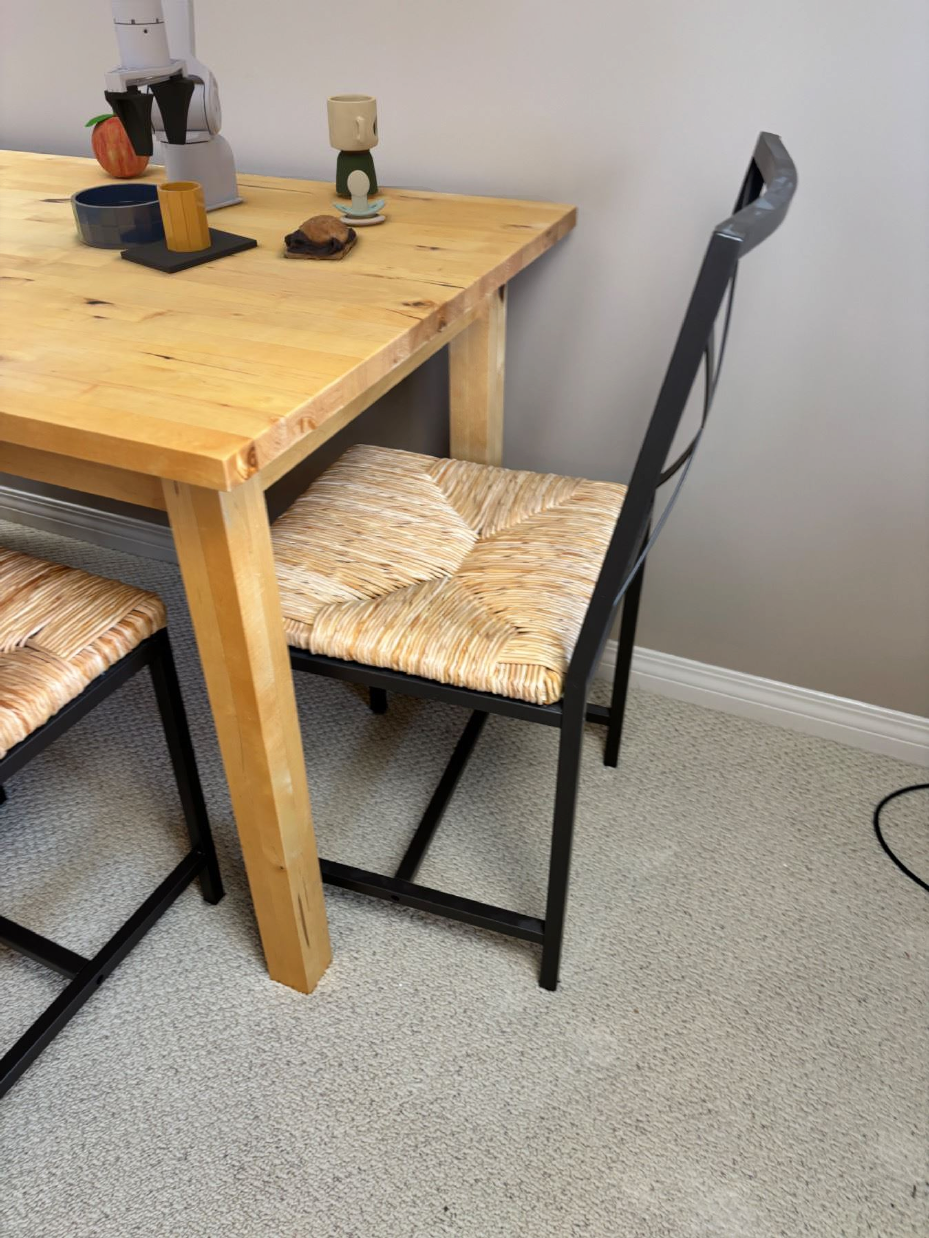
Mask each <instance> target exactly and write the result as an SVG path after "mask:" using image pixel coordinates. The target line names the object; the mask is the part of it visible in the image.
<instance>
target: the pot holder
mask: <svg viewBox="0 0 929 1238" xmlns="http://www.w3.org/2000/svg"><path fill="white" fill-rule="evenodd" d="M208 228H209V235H210V241H211V246H210V247H208V248H206V249H204V250H200V251H194V252H176V251H172V250H169V249H168V247H167V241H166V239H164V240H160V241H157V242H153V243H150V244H146V245H143V246H139V247H136V248H132V249H124V250H121V251H120V253H119V254H120V257H121V259H122V260H125V261H129V262H133V263H136V264H140V265H142V266H145V267H149V268H152V269H155V270H157V271H158V270H159V271H162V272H165V273H168V274H173V273H177V272H179V271H183V270H186V269H189V268H192V267H195V266H198V265H199V266H200V265H202V264H204V263H208V262H211V261H215V260H218V259H221V258H224V257H228V256H231V255H233V254H237V253H240V252H243V251H247V250H249V249H252V248H256V247H258V240H257V239H254V238H250V237H248V236H247V237H246V236H243V235H240V234H236V233H232V232H228V231H225V230H220V229H217V228H213V227H209V226H208Z"/></svg>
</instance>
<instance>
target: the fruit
mask: <svg viewBox="0 0 929 1238" xmlns="http://www.w3.org/2000/svg"><path fill="white" fill-rule="evenodd" d="M111 110H112V113H107V114H105V113H104V114H101V115H98V116H95V117H93V118H91V119H89V120H88V122H87V123H86V124H85V125H84V127H86V128H90V127H92V126H94V127H93V130H92V133H91V148H92V152H93V155H94V156H95V159H96V161H97V162H98V164H99V165H100V167H101V168H102V169H103V170H104V171H105V172H107V173H108V174H109V175H111V176H114V177H118V178H129V177H136V176H139V175H141V174H142V173H143V172H144V171H145V170H146V169H147V167H148V165H149V162H150V157H147V156H136V154H135V152H134V150H133V147H132V145H131V143H130V140H129V138H128V136H127V133H126V131H125V129H124V127H123V125H122V123H121V121H120V119H119V118H118V116H117V115H116V113H115V111H114V110H113V109H112V108H111Z"/></svg>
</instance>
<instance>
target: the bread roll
mask: <svg viewBox="0 0 929 1238" xmlns="http://www.w3.org/2000/svg"><path fill="white" fill-rule="evenodd" d="M357 238H358V234H357V231H356V230H354V228H353V227H348V226H347V224H344V223H343V222H342V221H341V220H339V218H338V217H336V216H334V215H330V214H319V215H314V216H313V217H309V218H308V219H307V220H306V221H303V223H301V225H300V226H299V227H298V228H297V230H295V231H294V232H292V233H289V234H287V235H285V236H284V243H285V246H286V248H285V249H284V251H283V258H289V259H293V258H295V259H303V260H308V259H314V260H318V261H319V260H336V261H337V260H338V261H339V260H341V259H343V258H344V257H345V256H346V255H347V253H348V252H350V248H351V247H353V246H354V244H355V242H356V241H357Z"/></svg>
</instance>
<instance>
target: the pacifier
mask: <svg viewBox="0 0 929 1238" xmlns="http://www.w3.org/2000/svg"><path fill="white" fill-rule="evenodd" d="M347 183H348V189H349V191H350V192H351V195H350V196H351V206H349V205H346V204H343V203H339V202H335V201H333V202H332V205H333V207H334V208H335V209H336V210H338V211H339V212H341V213H343V214H344V215H342V216H340V217H339V218H338V219H339V220H341V221H342V222H343V223H344V224H345V225H353V226H360V225H361V226H365V225H373V224H378V223H382V222H384V221H385V220H386V216H385V215H383V214H381V213H378V212H379V211H381V210H382V209H383V208H384V207H385V206H386V204H387V199H385V198H382V199H378V200H376V201H373V202H370V203H369V204H368V194H367V192H368V190H369V186H370V183H369V179H368V177H367V175H366V174H365V173H364V172H362V171H360V170H356V171H353V172H352V173H351V174H350V175H349V177H348V182H347Z"/></svg>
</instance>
